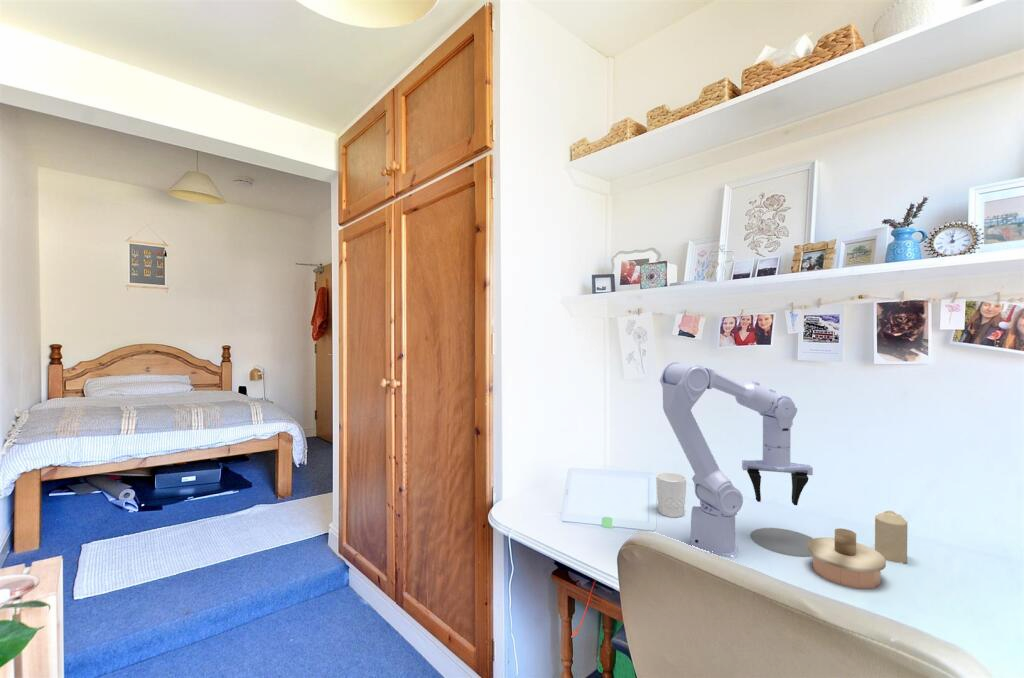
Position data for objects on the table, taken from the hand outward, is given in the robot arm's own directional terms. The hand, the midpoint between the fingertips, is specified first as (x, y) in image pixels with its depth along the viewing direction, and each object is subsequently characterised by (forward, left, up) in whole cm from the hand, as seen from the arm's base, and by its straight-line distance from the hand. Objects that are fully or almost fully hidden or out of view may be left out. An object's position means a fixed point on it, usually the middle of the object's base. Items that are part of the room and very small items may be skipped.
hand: (776, 502), depth 111 cm
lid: (+12, -11, -5) cm, 17 cm away
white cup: (-25, +7, -10) cm, 28 cm away
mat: (+2, 0, -9) cm, 10 cm away
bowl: (+12, -11, -9) cm, 19 cm away
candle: (+22, +2, -10) cm, 24 cm away
